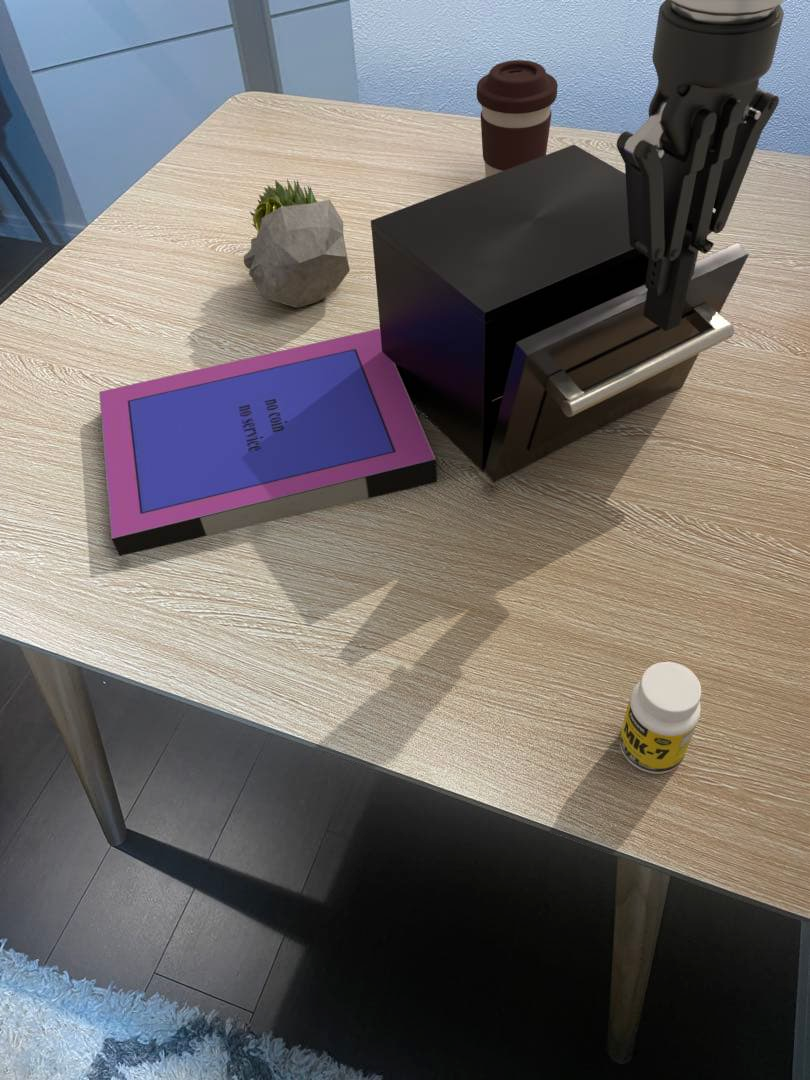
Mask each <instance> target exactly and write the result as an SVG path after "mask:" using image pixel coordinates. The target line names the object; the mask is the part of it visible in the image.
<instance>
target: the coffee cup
mask: <svg viewBox="0 0 810 1080" xmlns="http://www.w3.org/2000/svg"><path fill="white" fill-rule="evenodd" d="M558 85H559V84H558V81H557V79H556V78H555V77H554V76H553V75H552V74H549V73H548V72H547V71H546V69H545V67H544V66H543V65H541V64H540V63H538V62H534V61H531V60H525V59H523V60H522V59H514V60H507V61H503V62H499V63H497V64H495V65H494V66H493V67H492V68H490V70H489V72H488V73H487V74H486V75H484V76H482V77H481V78H479V80H478V82H477V84H476V100H477V102H478V103H479V104H480V105H481V112H480V130H481V132H480V133H481V147H482V150H481V151H482V159H483V161H484V172H485V176H484V177H485V178H486V177H489V176H491V175H494V174H497V173H499V172H502V171H505V170H507V169H510V168H513V167H515V166H518V165H521V164H523V163H526V162H529V161H531V160H534V159H537V158H539V157H542V156H545V155H547V151H548V143H549V136H550V128H551V121H552V110H551V108H552V105H553V104H554V103H555V101H556V100H557V97H558V87H559V86H558Z"/></svg>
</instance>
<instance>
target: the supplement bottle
mask: <svg viewBox="0 0 810 1080" xmlns="http://www.w3.org/2000/svg"><path fill="white" fill-rule="evenodd" d="M701 697H702V686H701V682H700V680H699V678H698V677H697V675H696V674H695V673H694V672H693V671H692V670H691V669H689V668H688V667H686V666H684V665H683V664H680V663H677V662H674V661H673V662H671V661H661V662H656V663H654V664H652V665H650V666H649V667H647V668H646V669H645V671H644V672H643V674H642V676H641V679H640V681H638V683H636V685H635V686H634V687H633V689H632V690H631V693H630V696H629V700H628V704H627V707H626V711H625V715H624V718H623V721H622V722H623V723H622V726H621V730H620V733H619V746H620V750H621V752H622V755H623V756H624V758H625V759H626V760H627V762H628V763H630V764H631V765H632V766H633V767H635V768H636V769H637V770H640V771H642V772H645V773H648V774H655V775H662V774H666V773H669V772H672V771H673V770H675V769H677V768H678V767H679V766H680V764H681V763H682V762H683V761H684V758H685V755H686V753H687V752H688V748H689V745H690V743H691V740H692V738H693V735H694V733H695V731H696V727H697V726H698V723H699V720H700V717H701V712H702V711H701V710H702V709H701V703H700V700H701Z"/></svg>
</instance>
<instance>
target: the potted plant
mask: <svg viewBox="0 0 810 1080" xmlns="http://www.w3.org/2000/svg"><path fill="white" fill-rule="evenodd" d="M286 181H287V187H286V186H283V185H282V184H281V183H279V182H278V181H277V179H275V181H274V182H275V187H274V186H270V185H269V184H267V185H266V186H267V188H266V187H263V189H264V191H263V192H262V193H263V195H260V194H258V197H259V199H260V200H259V199H257V200H256V201H257V202H258V205H257V206H256V208H253V210H254V212H252V211H250V210H249V213H250V215H251V216H252V223H251V225H252V226H253V227H254V229H255V230H256V231H257V234H256V237H253V238H251V239H250V249H249V250H248V251H247V252H246V253H245V254H244V255H243V264H244V265H245V268H246V269H248V270H249V271H248V275H249V277H250V278H251V281H252V283H253V285H254V287H255V288H256V290H257V292H258V294H259V296H261V297H263V298H265V299H267V300H269V301H273V302H276V303H280V304H283V305H285V306H289V307H293V308H297V309H298V308H301V307H304V306H308V305H312V304H315V303H319V302H320V301H322V300H324V299H325V298H326V297H328V296H329V295H331V294H333V293H335V291H336V290H337V289H338V288H339V286H340V284H341V283H342V282H343V281H344V279H345V278H346V277H347V275H348V274H349V273H350V271H351V270H350V265H349V258H348V252H347V247H346V240H345V237H344V221H343V219H342V218H341V216H340V214H339V213H338V211H337V209H336V207H335V206H334V204H333V203H332V201H331V199H325V200H321V201H318V200H317V199H316V196H315V195H314V192H313V189H312V187H311V186H307V188H306V187H305V186H303V189H304V191H303V189H302V187H301V185H300V183H299V179H297V181H295V179H293V183H294V185H293V186H294V187H293V186H292V184H291V182H290V181H289V179H288V178H287V179H286Z"/></svg>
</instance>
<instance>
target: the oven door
mask: <svg viewBox="0 0 810 1080" xmlns="http://www.w3.org/2000/svg"><path fill="white" fill-rule="evenodd" d="M749 255H750V253H749V252H748V251H747V250H746V249H745V248H744V247H743V246H742V245H741V244H739V242H735V243H733V244H730V245H729V246H726V247H724V248H722V249H720V250H718V251H715V252H713V253H711V254H709V255H707V256H704V257H702V258H700V259H697V261H696V265H695V270H694V274H693V277H692V279H691V281H689V284H688V289H687V294H686V298H685V303H684V308H683V313H682V317H681V322H680V325H679V326H677V327H674V328H672V329H670V330H668V331H665V330H663V329H662V328H660V327H659V326H658V325H656V324H655V323H653V322H652V321H650V320H649V319H647V318H646V317H645V316H643V313H644V307H645V301H646V296H647V290H648V289H647V288H646V286H645V284H644V285H642V286H640V287H638V288H635V289H633V290H631V291H629V292H627V293H624V294H622V295H620V296H618V297H616V298H613V299H611V300H609V301H607V302H604V303H602V304H600V305H598V306H596V307H593V308H591V309H589V310H587V311H585V312H582V313H580V314H578V315H576V316H573V317H571V318H569V319H567V320H565V321H562V322H560V323H558V324H556V325H554V326H551V327H549V328H547V329H545V330H542V331H540V332H538V333H536V334H534V335H531V336H529V337H527V338H525V339H523V340H520V341H518V342H516V345H515V349H514V353H513V357H512V361H511V365H510V369H509V373H508V377H507V381H506V385H505V389H504V393H503V397H502V401H501V405H500V409H499V413H498V417H497V422H496V426H495V430H494V434H493V438H492V442H491V446H490V450H489V454H488V458H487V462H486V466H485V470H484V471H483V472H484V473H485V474H486V475H487V476H488V477H489V479H490V480H491V482H492V483H496V482H498V481H500V480H502V479H504V478H506V477H507V476H510V475H511V474H513V473H515V472H518V471H520V470H521V469H523V468H526V467H527V466H530V465H531V464H533V463H535V462H537V461H539V460H542V459H544V458H545V457H547V456H549V455H551V454H553V453H555V452H558V451H559V450H561V449H563V448H565V447H567V446H568V445H571V444H573V443H574V442H577V441H578V440H581V439H583V438H584V437H587V436H589V435H590V434H593V433H594V432H596V431H598V430H601V429H602V428H604V427H606V426H608V425H610V424H612V423H614V422H616V421H618V420H619V419H622V418H625V416H628V415H630V414H632V413H634V412H635V411H638V410H639V409H642V408H644V407H646V406H647V405H650V404H651V403H654V402H655V401H658V400H659V399H661V398H663V397H666V396H667V395H669V394H671V393H673V392H676V391H677V390H679V389H681V388H683V387H684V384H685V382H686V381H687V379H688V376H689V374H690V372H691V371H692V368H693V367H694V364H695V362H696V360H697V359H698V357H699V354H701V353H703V352H705V351H706V350H709V349H711V348H713V347H715V346H717V345H718V344H721V343H723V342H726V340H729V339H731V338H732V337H733V336H734V335H735V328H734V325H733V323H732V322H730V321H728V320H726V319H725V318H724V317H723V316H722V315H721V314H720V313H721V311H722V309H723V307H724V305H725V303H726V301H727V299H728V297H729V295H730V293H731V292H732V289H733V288H734V285H735V283H736V281H737V279H738V277H739V275H740V273H741V271H742V270H743V268H744V265H745V263H746V262H747V259H748V257H749Z"/></svg>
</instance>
